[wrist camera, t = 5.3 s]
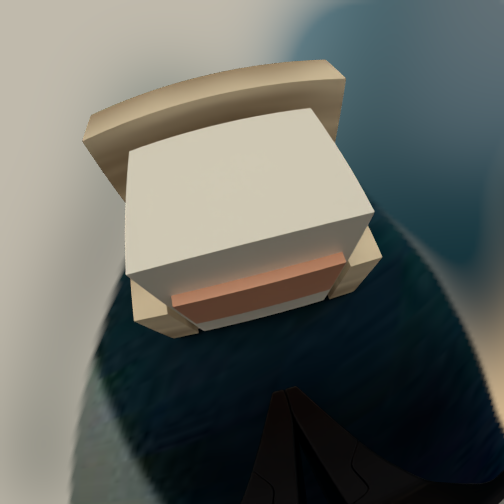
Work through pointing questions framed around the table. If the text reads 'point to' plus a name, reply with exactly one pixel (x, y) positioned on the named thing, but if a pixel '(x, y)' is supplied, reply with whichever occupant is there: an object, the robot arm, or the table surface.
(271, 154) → the white box
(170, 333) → the beige toy armchair
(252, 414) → the table surface
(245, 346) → the table surface
